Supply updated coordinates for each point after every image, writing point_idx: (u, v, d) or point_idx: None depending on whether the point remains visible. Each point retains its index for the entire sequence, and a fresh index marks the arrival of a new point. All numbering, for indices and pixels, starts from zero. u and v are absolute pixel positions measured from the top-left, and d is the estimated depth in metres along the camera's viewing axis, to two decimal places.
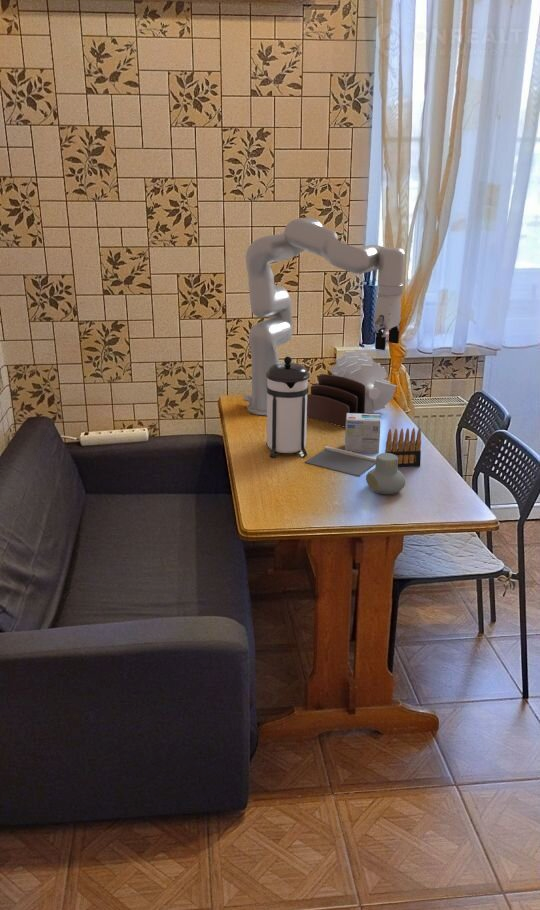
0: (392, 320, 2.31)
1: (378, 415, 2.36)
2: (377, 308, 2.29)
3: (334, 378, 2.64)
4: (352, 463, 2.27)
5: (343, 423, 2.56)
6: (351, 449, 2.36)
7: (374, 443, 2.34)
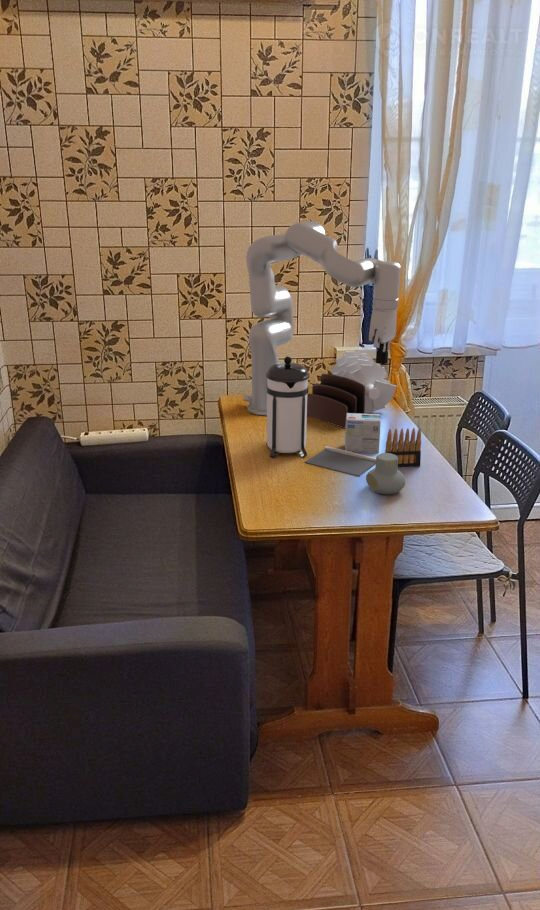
0: (387, 334, 2.31)
1: (378, 415, 2.36)
2: (372, 321, 2.29)
3: (335, 378, 2.64)
4: (352, 463, 2.27)
5: (341, 423, 2.56)
6: (351, 449, 2.36)
7: (374, 443, 2.34)
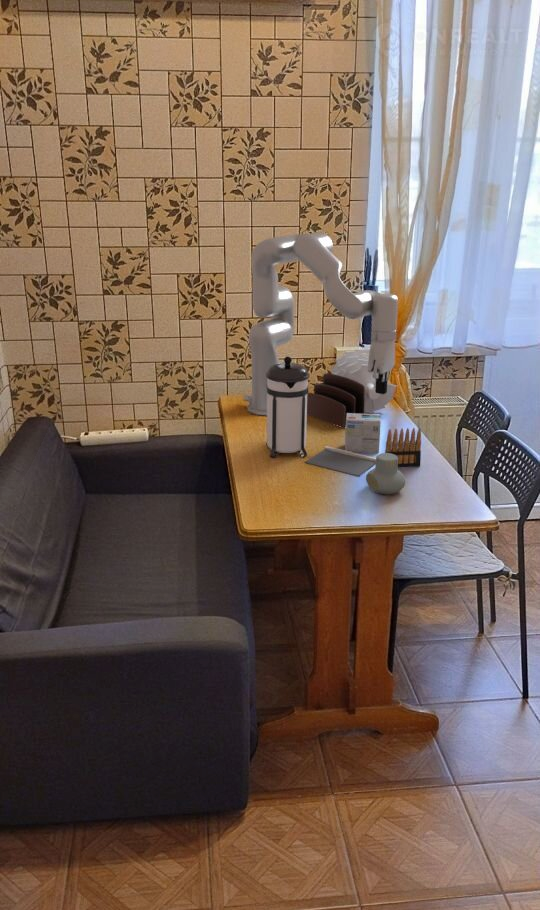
0: (386, 365, 2.34)
1: (378, 415, 2.36)
2: (371, 353, 2.33)
3: (337, 378, 2.64)
4: (352, 463, 2.27)
5: (340, 423, 2.56)
6: (351, 449, 2.36)
7: (374, 443, 2.34)
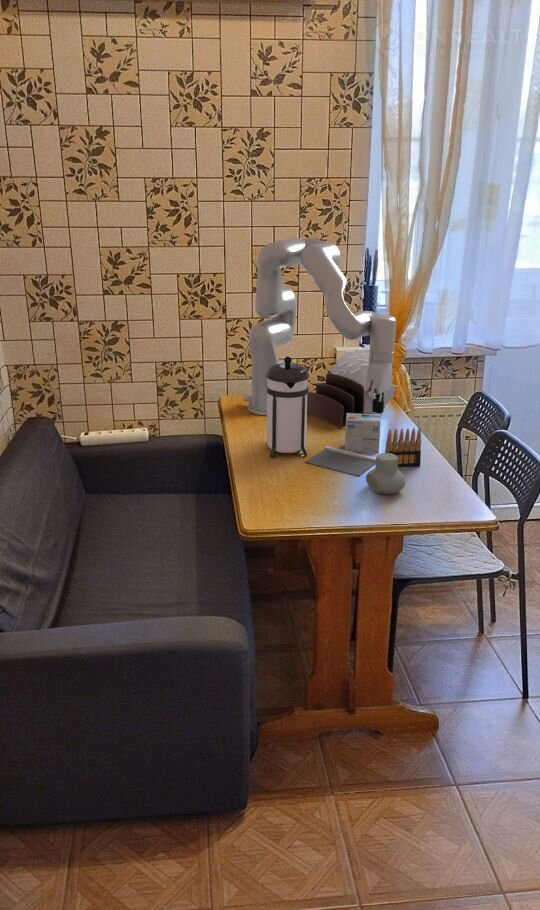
0: (383, 385, 2.37)
1: (378, 415, 2.36)
2: (369, 373, 2.35)
3: (338, 378, 2.65)
4: (352, 463, 2.27)
5: (338, 423, 2.56)
6: (351, 449, 2.36)
7: (374, 443, 2.34)
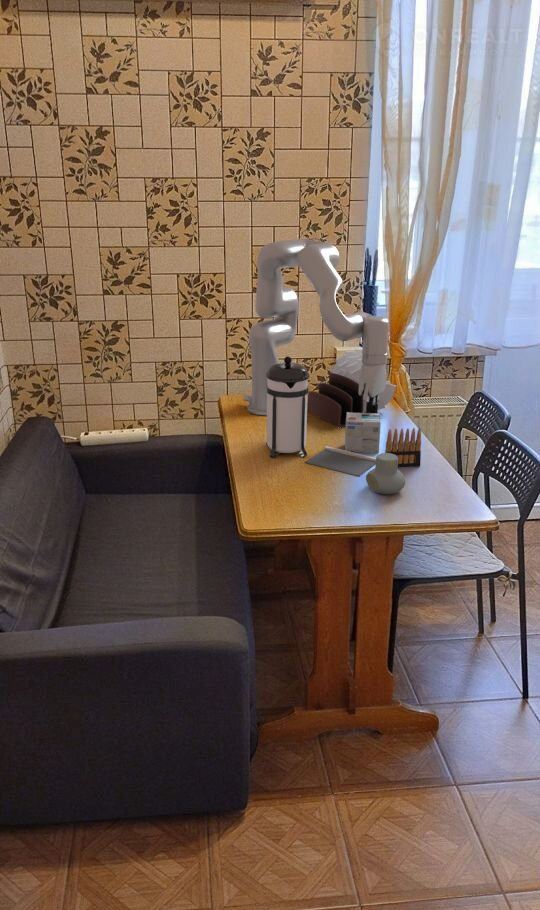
0: (377, 388, 2.32)
1: (378, 415, 2.35)
2: (362, 376, 2.30)
3: (340, 378, 2.65)
4: (352, 463, 2.27)
5: (336, 422, 2.56)
6: (351, 449, 2.36)
7: (374, 443, 2.34)
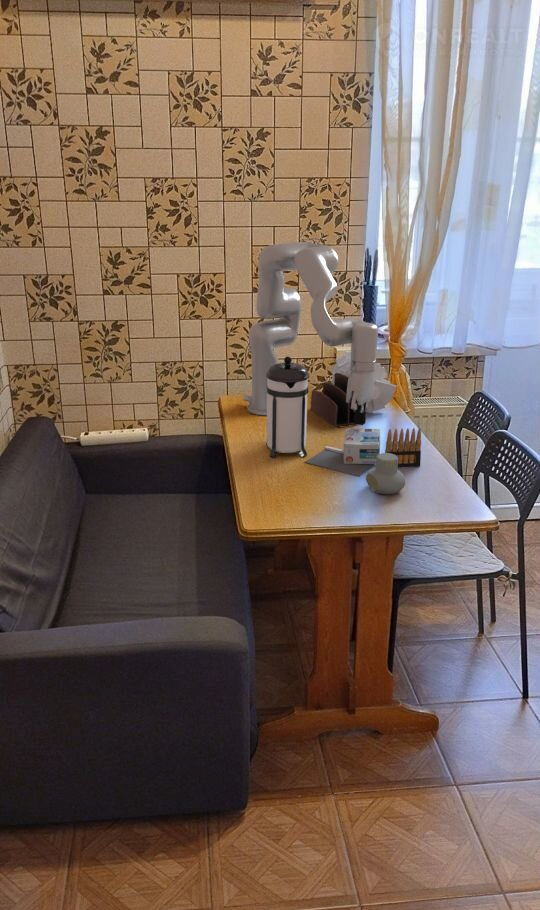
0: (365, 396, 2.27)
1: (377, 449, 2.23)
2: (350, 383, 2.25)
3: (343, 378, 2.65)
4: None
5: (333, 422, 2.57)
6: None
7: None
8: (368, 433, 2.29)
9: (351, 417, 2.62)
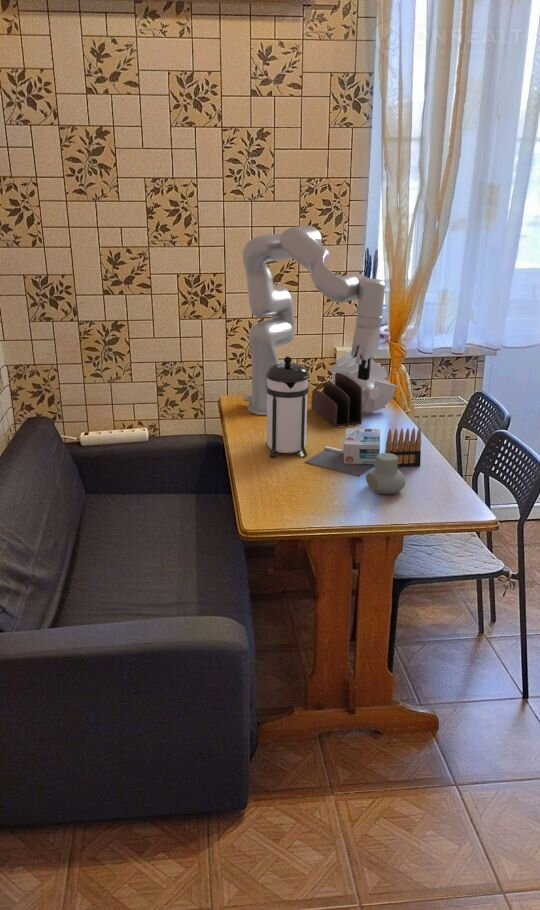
0: (370, 351, 2.32)
1: (377, 449, 2.23)
2: (355, 338, 2.30)
3: (343, 377, 2.65)
4: None
5: (333, 422, 2.57)
6: None
7: None
8: (368, 433, 2.29)
9: (351, 417, 2.62)
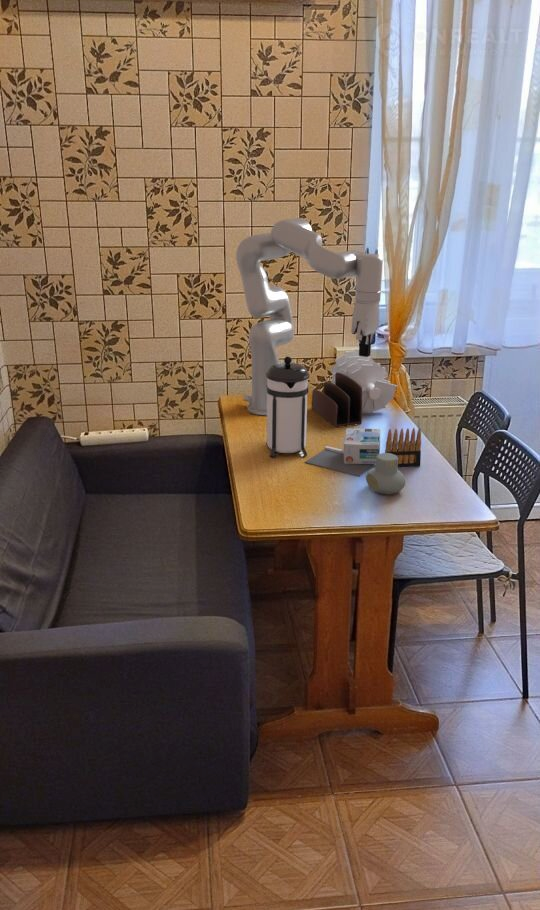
0: (370, 326, 2.31)
1: (377, 449, 2.23)
2: (355, 314, 2.29)
3: (343, 377, 2.65)
4: None
5: (333, 422, 2.57)
6: None
7: None
8: (368, 433, 2.29)
9: (351, 417, 2.62)
